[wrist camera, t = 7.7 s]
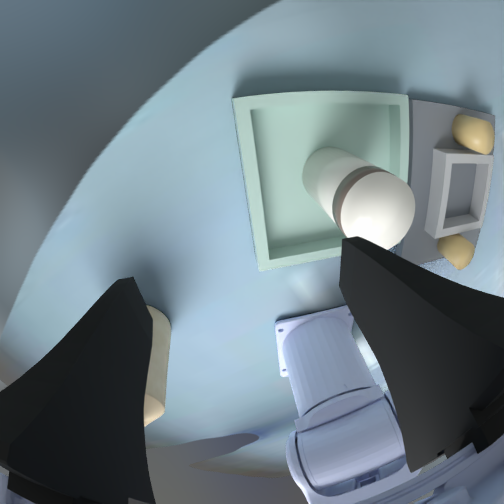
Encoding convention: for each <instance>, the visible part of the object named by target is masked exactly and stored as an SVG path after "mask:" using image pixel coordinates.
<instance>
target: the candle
mask: <svg viewBox="0 0 504 504" xmlns="http://www.w3.org/2000/svg"><path fill="white" fill-rule="evenodd" d="M146 306H147V308H148V310H149V312H150V314H151V316H152V318H153V340H152V350H151V357H150V363H149V370H148V377H147V384H146V391H145V400H144V427H145V426H146V425H148V424H149V423H151V422H152V421H154V420H155V419H157V418H159V417H160V416H161V415H163V413H164V412H165V398H166V383H167V371H168V359H169V349H170V339H171V325H170V322H169V320H168V319H167V317H166V316H165V315H164V314H163V313H162V312H160V311H159V310H157V309H156V308H154V307H151V306H148V305H146Z"/></svg>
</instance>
